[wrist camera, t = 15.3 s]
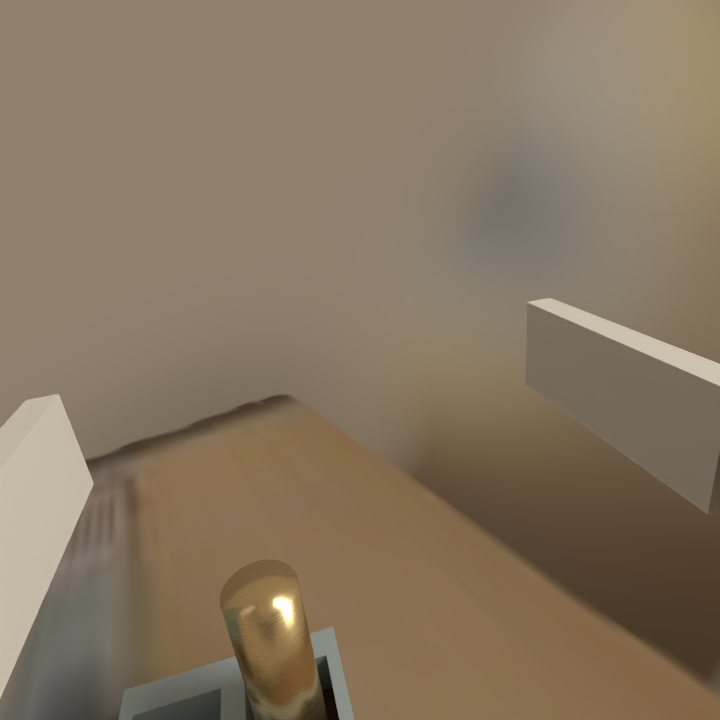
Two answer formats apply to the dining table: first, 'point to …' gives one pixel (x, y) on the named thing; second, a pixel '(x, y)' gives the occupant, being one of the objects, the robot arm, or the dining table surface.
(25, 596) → the robot arm
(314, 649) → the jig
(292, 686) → the gold metal cylinder
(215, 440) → the dining table surface
